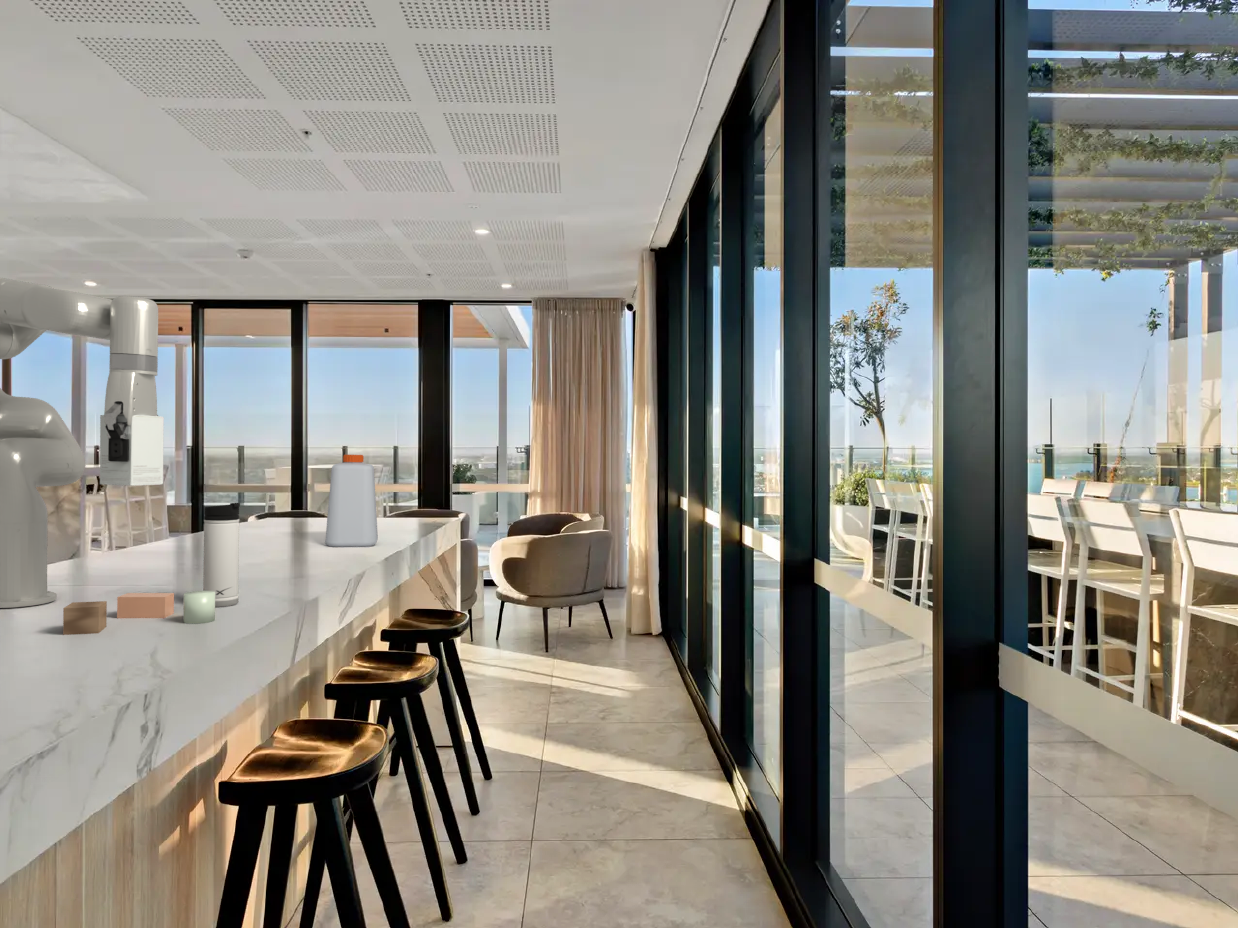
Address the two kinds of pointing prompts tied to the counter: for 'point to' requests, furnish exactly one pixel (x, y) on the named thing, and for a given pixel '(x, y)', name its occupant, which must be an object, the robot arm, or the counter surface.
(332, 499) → the plastic bottle
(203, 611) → the sage plastic cylinder
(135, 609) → the terracotta brick
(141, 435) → the supplement box
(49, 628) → the counter surface
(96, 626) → the walnut block
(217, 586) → the travel mug
